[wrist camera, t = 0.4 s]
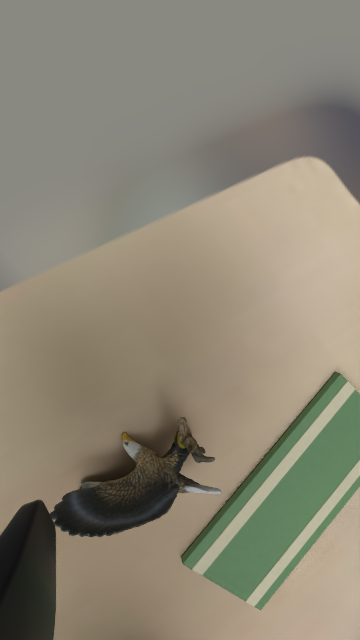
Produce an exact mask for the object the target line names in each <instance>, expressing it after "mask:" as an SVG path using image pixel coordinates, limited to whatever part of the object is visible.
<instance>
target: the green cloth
mask: <svg viewBox="0 0 360 640" xmlns="http://www.w3.org/2000/svg"><path fill="white" fill-rule="evenodd" d="M359 487H360V395H359V393H358V392H357V391H356V390H355V388H354V387H353V386H352V385H351V384H350V383H349V382H348V381H347V380H346V379H345V378H344V377H343V376H342V375H341V374H340V373H337V372H335V373H334V375H333V376H332V377H331V378H330V379H329V381H328V382H327V383H326V384H325V385H324V387H323V388H322V389H321V390H320V391H319V393H318V394H317V395H316V396H315V397H314V399H313V400H312V401H311V402H310V403H309V405H308V406H307V407H306V408H305V409H304V411H303V412H302V413H301V414H300V415H299V417H298V418H297V419H296V420H295V421H294V423H293V424H292V425H291V426H290V427H289V429H288V430H287V431H286V432H285V433H284V435H283V436H282V437H281V438H280V439H279V441H278V442H277V443H276V444H275V445H274V447H273V448H272V449H271V450H270V451H269V453H268V454H267V455H266V456H265V457H264V459H263V460H262V461H261V462H260V463H259V465H258V466H257V467H256V468H255V469H254V471H253V472H252V473H251V474H250V475H249V477H248V478H247V479H246V480H245V481H244V483H243V484H242V485H241V486H240V487H239V489H238V490H237V491H236V492H235V493H234V495H233V496H232V497H231V498H230V499H229V500H228V502H227V503H226V504H225V505H224V506H223V508H222V509H221V510H220V511H219V512H218V514H217V515H216V516H215V517H214V518H213V520H212V521H211V522H210V523H209V524H208V526H207V527H206V528H205V529H204V530H203V532H202V533H201V534H200V535H199V536H198V538H197V539H196V540H195V541H194V542H193V544H192V545H191V546H190V547H189V548H188V550H187V551H186V552H185V553H184V554H183V556H182V557H181V559H182V562H183V564H184V565H186V566H188V567H189V568H191V569H192V570H193V571H194V572H196V573H198V574H199V575H201V576H202V575H203V576H204V577H206V578H208V579H209V580H211V581H213V582H214V583H216V584H218V585H219V586H221V587H223V588H224V589H226V590H228V591H229V592H231V593H233V594H234V595H236V596H238V597H239V598H241V599H243V600H244V601H245V602H246V603H248V604H250V605H251V606H253V607H256V608H258V609H259V610H261V609H262V608H263V607H264V605H265V604H266V603H267V602H268V600H269V599H270V598H271V597H272V595H273V594H274V593H275V592H276V590H277V589H278V588H279V587H280V585H281V584H282V583H283V582H284V580H285V579H286V578H287V577H288V575H289V574H290V573H291V572H292V570H293V569H294V568H295V567H296V565H297V564H298V563H299V562H300V560H301V559H302V558H303V557H304V555H305V554H306V553H307V552H308V550H309V549H310V548H311V547H312V545H313V544H314V543H315V542H316V540H317V539H318V538H319V537H320V535H321V534H322V533H323V532H324V530H325V529H326V528H327V527H328V525H329V524H330V523H331V522H332V520H333V519H334V518H335V517H336V515H337V514H338V513H339V512H340V510H341V509H342V508H343V507H344V505H345V504H346V503H347V502H348V500H349V499H350V498H351V497H352V495H353V494H354V493H355V492H356V490H357V489H358V488H359Z"/></svg>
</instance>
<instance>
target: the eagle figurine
mask: <svg viewBox="0 0 360 640" xmlns="http://www.w3.org/2000/svg"><path fill="white" fill-rule="evenodd" d="M178 425H179V429H180V430H179V431H177V432H176V434H175V438H174V442H173V444H172V446H171V448H170V449H169V450H168V451H167V453H166V454H165V455H164V456H162V457H161V456H159V455H158V454H157V453H155V452H154V451H153V450H151V449H149V448H147V447H144V446H142V445H139V444H137V443H136V442H135V441H133V440H132V439H130V438H129V437H128V436H127V434H126V432H125V433H123V435H122V439H123V446H124V448H125V450H126V452H127V453H128V454H129V455H130V456H131V457H132V459H133V460H134V461H135V462H136V464H137V465H136V467H135V469H134V470H133V471H132V472H131V473H129V474H128V475H127V476H125V477H123V478H120V479H116V480H110V481H105V482H91V481H88V482H82V483H81V486H82V488H80V489H78V490H75V491H72V492H70V493H67V494H66V495H64V496H63V498H62V500H63V501H61V502H60V503H58V504H57V505H56V506H55V507H54V511H53V512H51V513H50V516H51V518H52V519H55V520H56V521H55V522H54V525H55V526H56V527H60V528H61V531H63V532H66V531H68V532H69V535H72V536H73V535H78V534H79V536H81V537H83V536H89V537H94V536H98V537H101V536H103V535H106V536H110V535H112V534H115V533H120V532H123V531H125V530H128V529H131V528H134V527H139V526H141V525H144V524H146V523H147V522H150V521H153V520H155V519H157V518H160V517H161V516H162V515H164V514H166V513H167V512H168V511H169V509H170V508H171V506H172V504H173V502H174V500H175V498H176V497H177V494H178V493H191V492H195V493H210V494H221V493H222V491H221V490H220V489H218V488H213V487H208V486H203V485H200V484H199V483H197V482H195V481H193V480H192V479H189V478H187V477H185V476H184V475H181V474H180V473H179V472H180V470H181V467H182V465H183V462H184V461H185V460H186V458H187V456H188V455H189V454H190V453H191V454H192V456H193V458H194V460H195V461H196V462H197V463H200V462H212V461H214V460H215V458H214V457H206V456H204V455H203V454H204V453H205V449H204V448H203V447H199V445H198V444H197V442H196V440H195V439H194V438H193V437H192V435H191V432H190V429H189V427H188V425H187V421H186V419H185V418H184V417H181V418H180V419H179V420H178ZM202 453H203V454H202Z"/></svg>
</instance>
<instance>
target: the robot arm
mask: <svg viewBox="0 0 360 640" xmlns="http://www.w3.org/2000/svg"><path fill="white" fill-rule="evenodd" d="M55 612H56V531H55V525H54V522H53V520H52V518H51V516H50V514H49V512H48V510H47V508H46V506H45V504H44V503H43V501H42V500H36V501H33V502H30V503H27V504H25V505H23V506H22V507H21V508H20V509H19V510H18V512H17V513H16V514H15V516H14V517H13V519H12V520H11V521H10V523H9V524H8V526H7V527H6V528H5V530H4V531H3V533H2V534H1V535H0V640H53V637H54V626H55Z"/></svg>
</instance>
